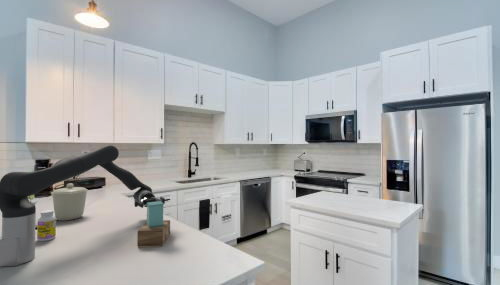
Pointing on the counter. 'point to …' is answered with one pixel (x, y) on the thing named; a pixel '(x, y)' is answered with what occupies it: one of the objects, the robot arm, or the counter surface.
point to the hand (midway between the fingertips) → (152, 204)
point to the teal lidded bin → (154, 214)
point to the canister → (69, 202)
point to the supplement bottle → (46, 226)
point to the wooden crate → (153, 235)
